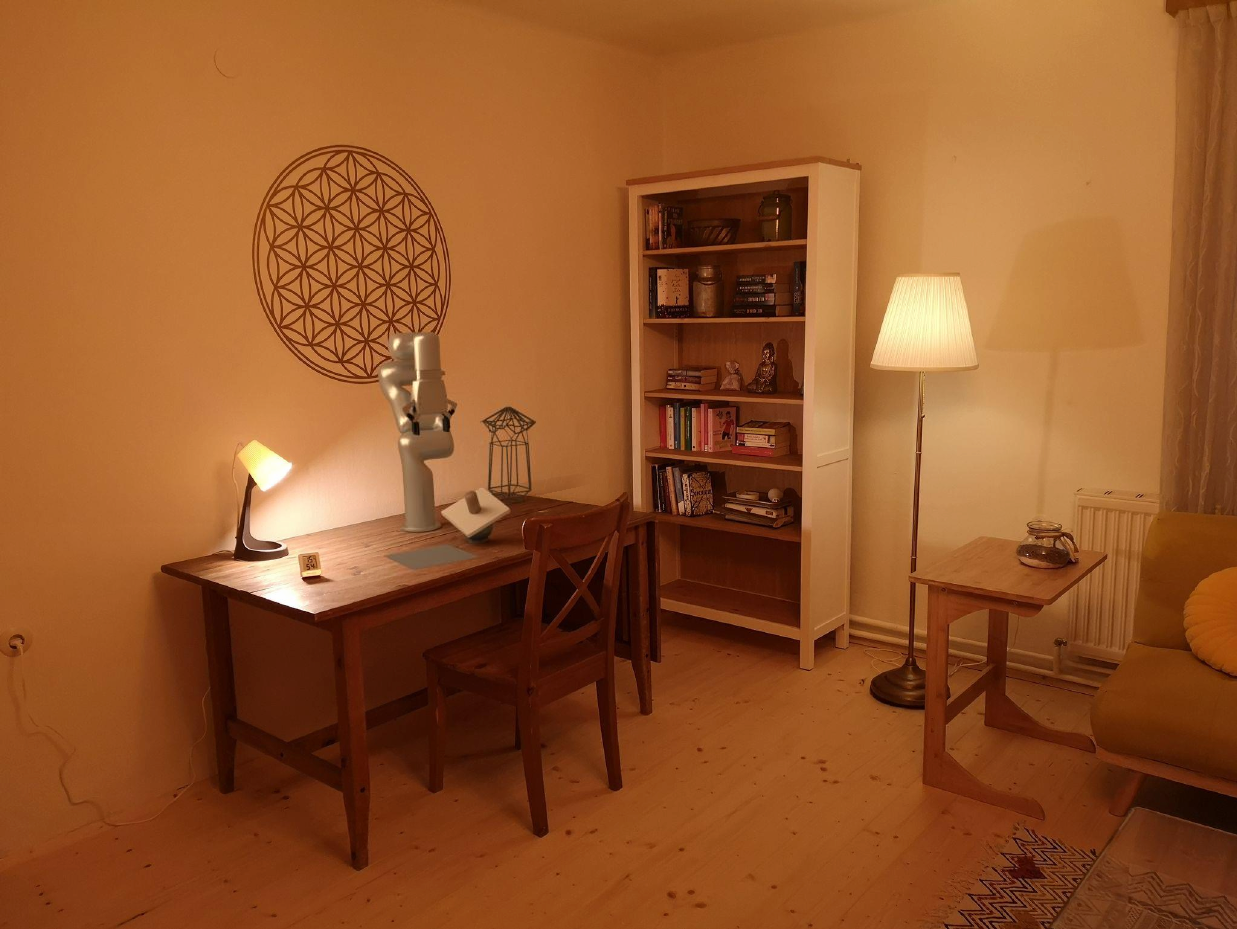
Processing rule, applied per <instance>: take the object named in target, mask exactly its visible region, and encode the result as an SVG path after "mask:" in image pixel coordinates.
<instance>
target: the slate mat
mask: <svg viewBox="0 0 1237 929" xmlns="http://www.w3.org/2000/svg"><path fill="white" fill-rule="evenodd" d="M383 557H385V558H387V559H389V560H391V561H393V562H395V563H397V564H399V565H401V566H404V567H406V568H408V569H410V570H412V571H416V570H422V569H426V568H431V567H436V566H441V565H446V564H452V563H457V562H461V561H467V560H472V559H473V560H474V559H477V558H479V556H477V555H475V554H473V553H470V552H467V551H465V550H463V549H460V548H459V547H458V548H457V547H455V546H453V545H449V544H447V543H446V544H440V545H437V546H436V545H435V546H430V547H424V548H420V549H414V550H407V551H402V552H398V553H392V554H388V555H387V554H386V555H383Z"/></svg>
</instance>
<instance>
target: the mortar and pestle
mask: <svg viewBox="0 0 1237 929" xmlns="http://www.w3.org/2000/svg"><path fill="white" fill-rule="evenodd" d="M493 530H494V522H493V523H492V524H490V525H489V526H487V527H485V528H484V529H482V530H481V531H479V532H477V533H476V534H474V535H473V536H471V537H469V538H468V537H467V536H466V535H465V534H464V533H463V535H464V537H466V538H467V539H468V541H467V542H468V543H470V544H480V543H481V544H482V543H486V542H489V537H490V536H491V534H492V533H493Z"/></svg>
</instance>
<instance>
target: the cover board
mask: <svg viewBox="0 0 1237 929" xmlns="http://www.w3.org/2000/svg"><path fill="white" fill-rule="evenodd" d="M499 500H500V499H498V497H496V498H495V496H494V495H493V494H492V493H491V492H490V491H489V490H488V489H485V488H484V487H483V486H482V487H479V488H478V489H476V490H474V491H473V490H470V491H467V492H466V493H465V494H464V497H463V498H461V499H460V500H458V501H456V502H455V503H453V504H451V505H449V506H448V507H446V508H445V509H443V510H441V511H440V513H441V515H442V516H443V517H444V518H445V519H447V521H448V522H450V523H451V524H452V525H453V526H454V527H456V528H457V529H458V530H459V532H462V534H463V535H464V534H465V535H466V536H467V537H468V538H467V537H466V536H465V535H464V536H465V537H466V538H467V539H469V537H471V536H473V535H474V534H476V533H477V532H479V531H481V530H482V529H484V528H485V527H487V526H489V525H490V524H492V523H493V524H494V523H495V522H497V521H499V520H500V519H501V518H503V517H504V516H506V515H508V514H509V513H511V510H510V508H509V506H507V505H506V504H503V503H504V502H502V500H501V501H499Z"/></svg>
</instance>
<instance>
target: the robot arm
mask: <svg viewBox="0 0 1237 929" xmlns="http://www.w3.org/2000/svg"><path fill="white" fill-rule="evenodd" d="M440 342H441V341H440V337H439V335H438V334H437V333H434V332H431V331H426V332H425V331H424V332H423V331H422V332H420V331H419V332H398V333H397V332H396V333H393V334H390V336H389V338H388V344H387V349H388V354H389V355H390V357H391V359H392V360H391V361H387V362H384V363H382V364H381V365H380V366H379V368H378V371H377V378H378V385H379V387H380V390H381V392H382V394H383V396H384V397H385V399H386V400H387V401H388V403H389V405H390V408H391V411H392V413H393V417H394V421H395V424H396V425H395V426H397V430H398V432H399V434H401V435H400V436H399V438H398V440H397V447H398V448H397V449H398V454H399V458H400V462H401V472H402V484H403V487H402V488H403V498H404V501H403V502H404V503H403V504H404V518H405V522H404V523H402V524H401V526H400V529H401V530H402V531H404V532H410V533H420V532H421V533H422V532H423V533H424V532H429V531H435V530H438V529H440V528H441V527H442V526H441V525H442V524H441V522H440V521H437V519H436V505H435V503H436V502H435V486H434V485H435V484H434V482H435V481H434V473H433V471H432V469H431V468H430V467H429V466H428V465H427V464H426V463H425V462H426V461H428V460H439V459H440V460H441V459H448V458H450V457H451V456H452V455H453V454H454V451H455V443H454V438H453V435H452V431H451V419H452V417H453V415H454V414H455V413H456V409H457V407H458V403H457V402H455V401H453V400H451V399H449V398H448V394H447V388H446V385H445V384H446V383H445V381H444V379H442V378H443V376H445V375H446V371H445V370H442V366H441V365H442V362H441V343H440ZM410 386H411V391H410V390H408V389H406V388H405V387H410ZM449 407H450V408H449ZM448 409H449V410H448Z"/></svg>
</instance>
